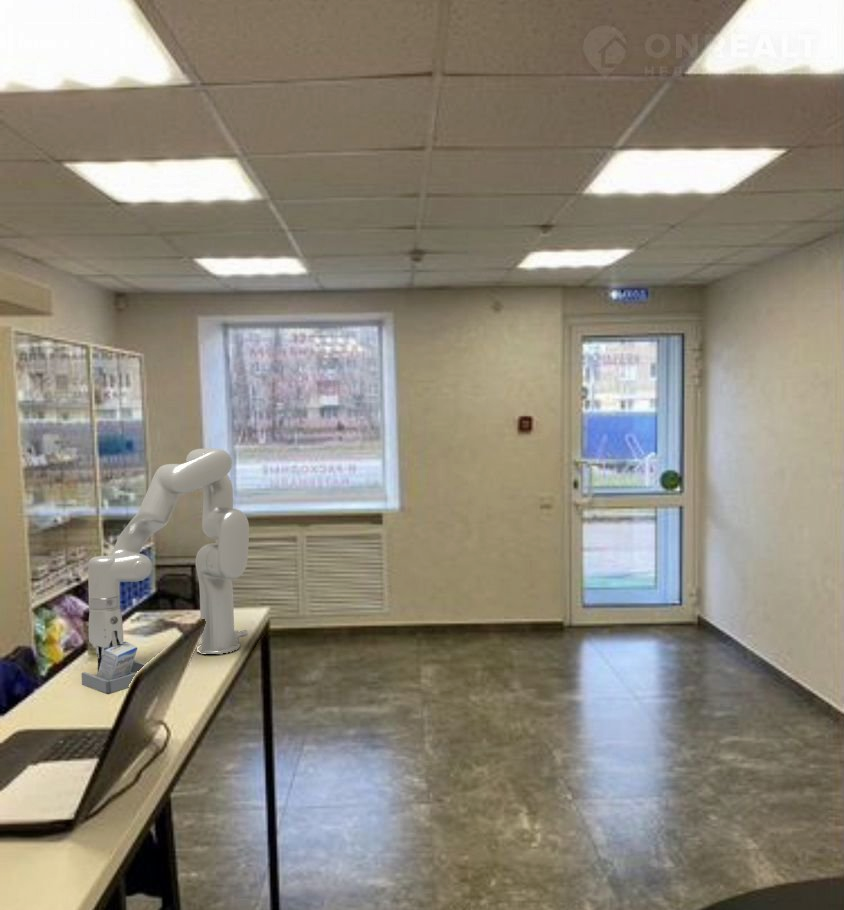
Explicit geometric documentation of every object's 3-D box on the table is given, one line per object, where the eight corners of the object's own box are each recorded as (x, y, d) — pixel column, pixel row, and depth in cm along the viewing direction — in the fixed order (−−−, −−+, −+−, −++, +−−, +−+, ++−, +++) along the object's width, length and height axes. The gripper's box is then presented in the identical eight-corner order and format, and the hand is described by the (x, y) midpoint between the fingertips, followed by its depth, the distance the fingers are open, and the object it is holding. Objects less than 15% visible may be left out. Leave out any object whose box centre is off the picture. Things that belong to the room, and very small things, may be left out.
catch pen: (130, 669, 197) (130, 658, 197) (157, 678, 190) (156, 667, 189) (81, 684, 187) (81, 672, 187) (107, 694, 179) (107, 682, 179)
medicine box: (109, 686, 184) (118, 656, 183) (95, 679, 185) (104, 649, 184) (129, 676, 192) (138, 647, 191) (116, 669, 193) (124, 640, 192)
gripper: (132, 604, 189) (133, 673, 189) (103, 597, 198) (104, 663, 198) (105, 609, 183) (106, 681, 183) (76, 602, 192) (77, 670, 192)
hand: (105, 672), depth 190 cm, fingers closed
